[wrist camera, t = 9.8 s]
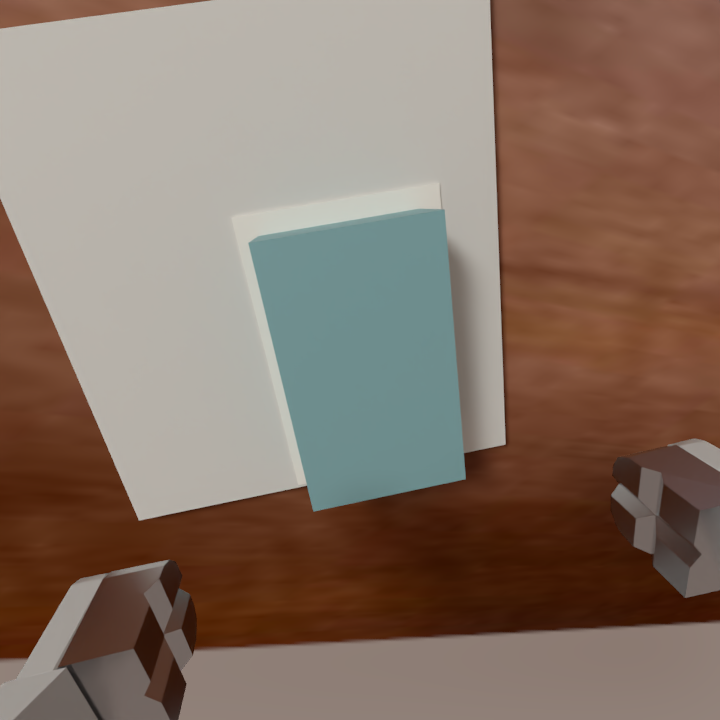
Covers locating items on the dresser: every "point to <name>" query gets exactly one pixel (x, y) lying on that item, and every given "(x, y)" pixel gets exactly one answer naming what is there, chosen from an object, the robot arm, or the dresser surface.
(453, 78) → the mat
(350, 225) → the teal rectangular block
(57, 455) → the dresser surface
